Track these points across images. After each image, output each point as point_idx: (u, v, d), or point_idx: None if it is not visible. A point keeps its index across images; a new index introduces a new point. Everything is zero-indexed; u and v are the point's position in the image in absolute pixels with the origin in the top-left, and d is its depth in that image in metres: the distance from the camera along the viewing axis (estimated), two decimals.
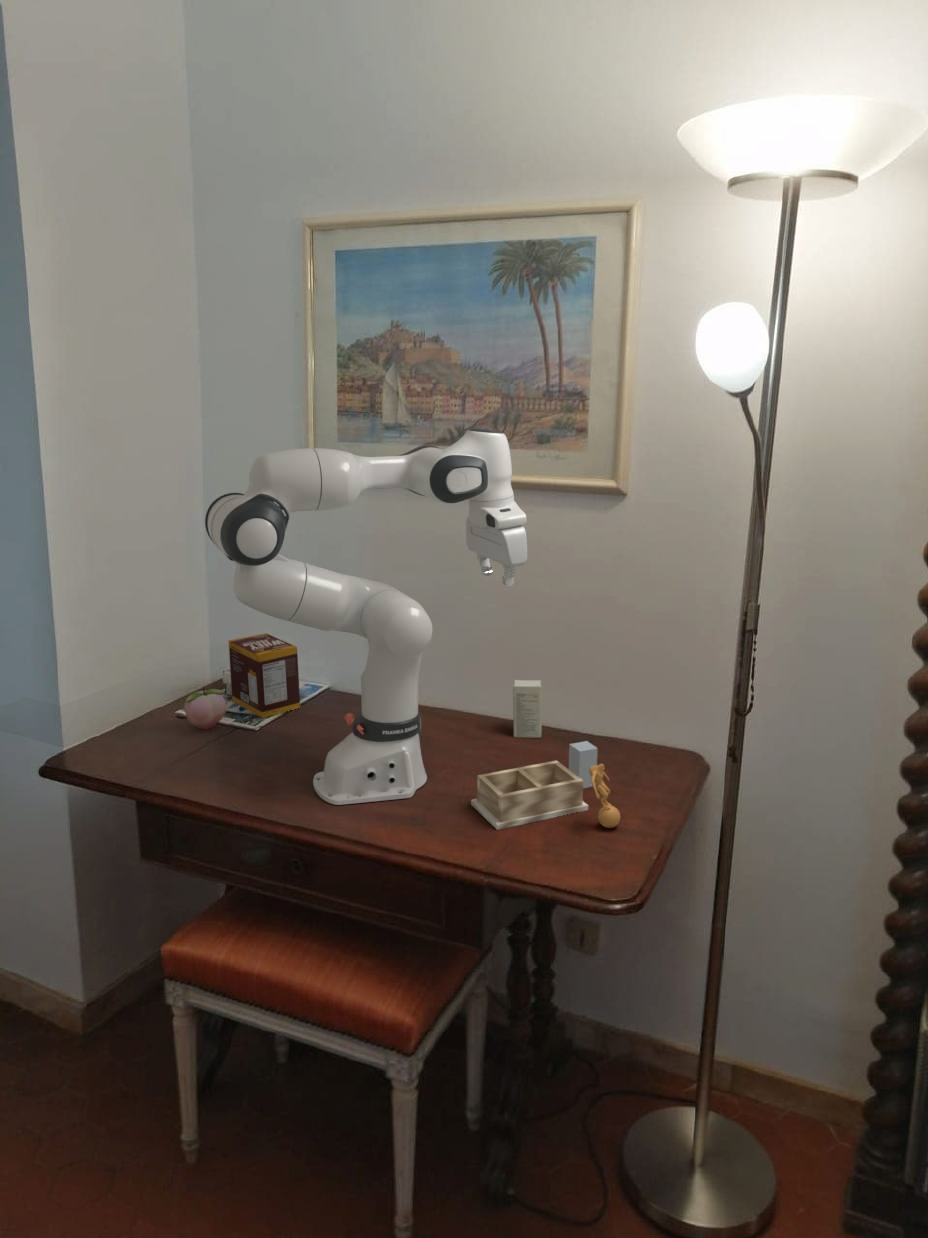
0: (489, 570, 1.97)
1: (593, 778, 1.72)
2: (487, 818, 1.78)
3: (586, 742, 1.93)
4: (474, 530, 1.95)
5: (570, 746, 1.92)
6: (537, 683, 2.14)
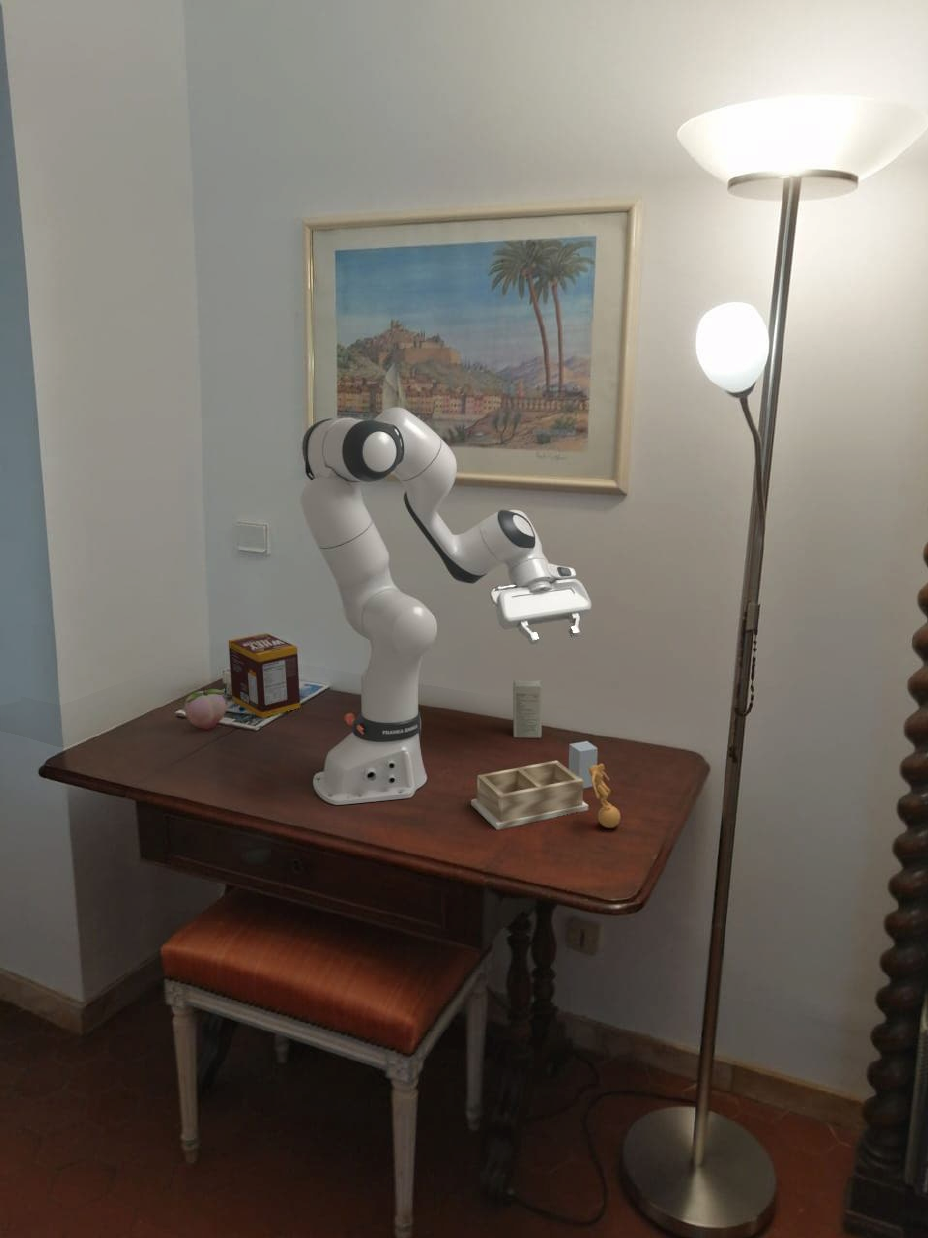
0: None
1: (593, 778, 1.72)
2: (487, 818, 1.78)
3: (586, 742, 1.93)
4: (517, 599, 1.97)
5: (570, 746, 1.92)
6: (537, 683, 2.14)
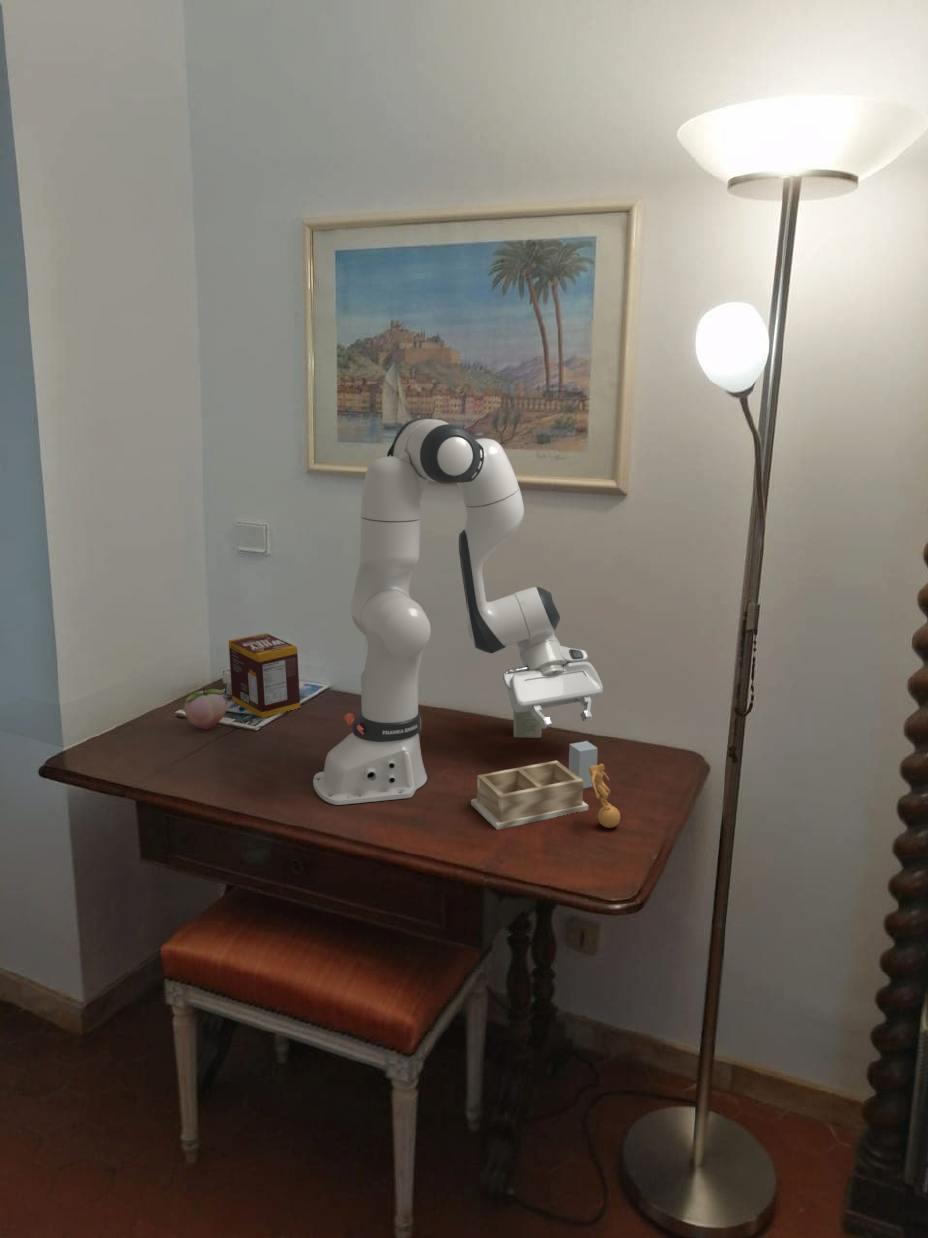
0: None
1: (593, 778, 1.72)
2: (487, 818, 1.78)
3: (586, 742, 1.93)
4: (530, 683, 1.97)
5: (570, 746, 1.92)
6: None
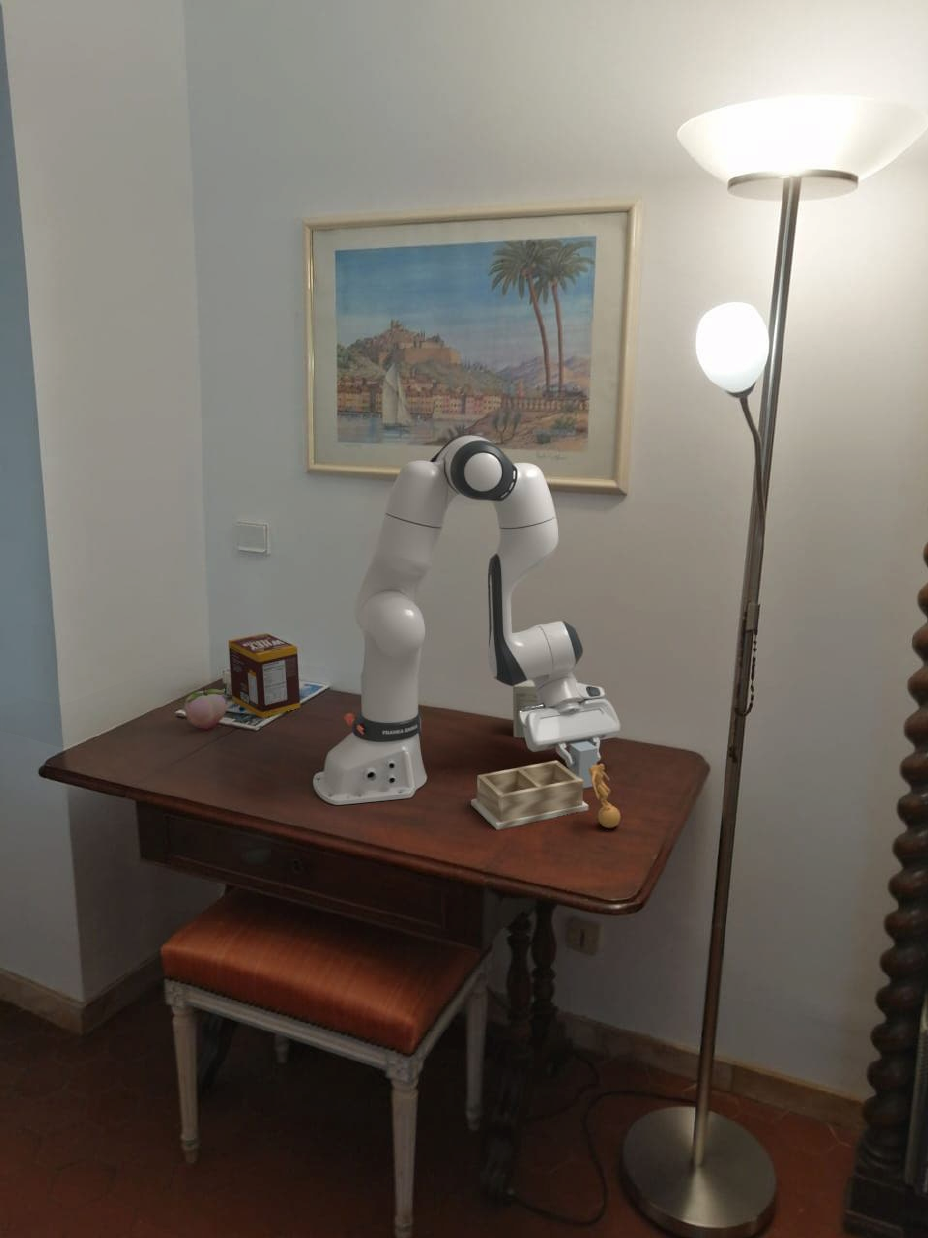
0: None
1: (593, 778, 1.72)
2: (487, 818, 1.78)
3: (586, 742, 1.93)
4: (546, 721, 1.92)
5: (570, 746, 1.92)
6: None
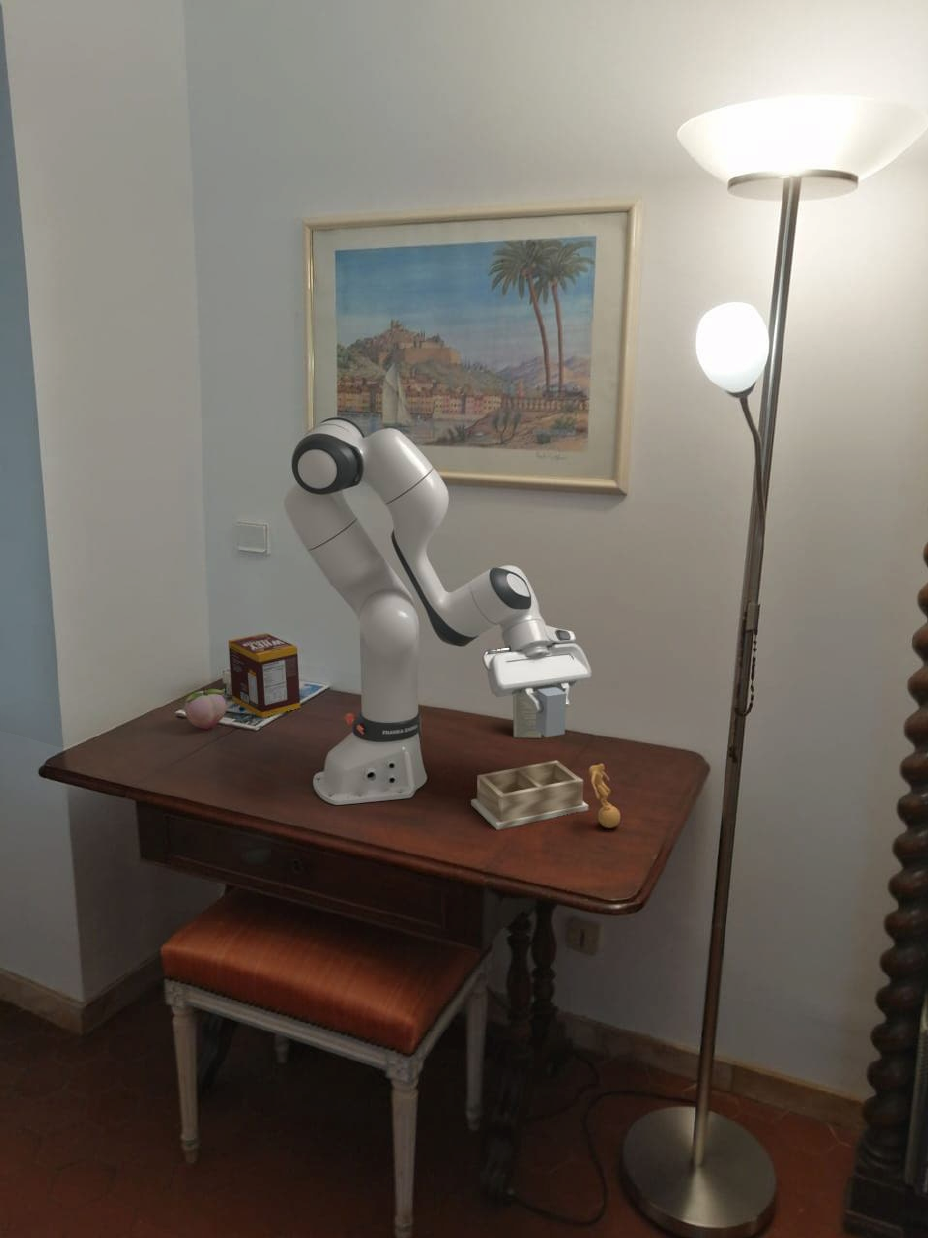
0: None
1: (593, 778, 1.72)
2: (487, 818, 1.78)
3: (555, 688, 1.81)
4: (511, 664, 1.80)
5: (537, 691, 1.80)
6: None
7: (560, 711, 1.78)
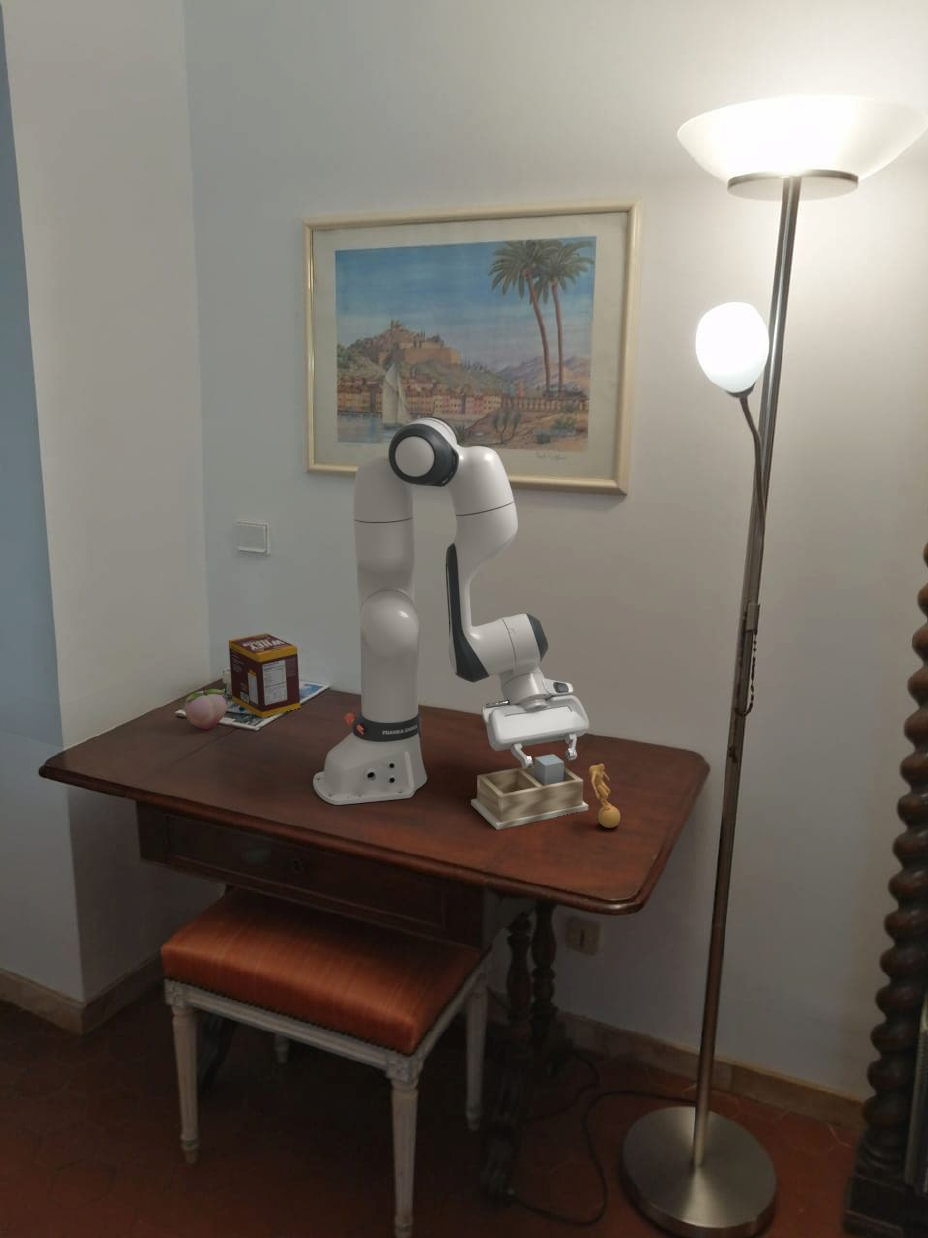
0: None
1: (593, 778, 1.72)
2: (487, 818, 1.78)
3: (552, 755, 1.84)
4: (510, 718, 1.82)
5: (535, 760, 1.83)
6: None
7: (558, 779, 1.82)
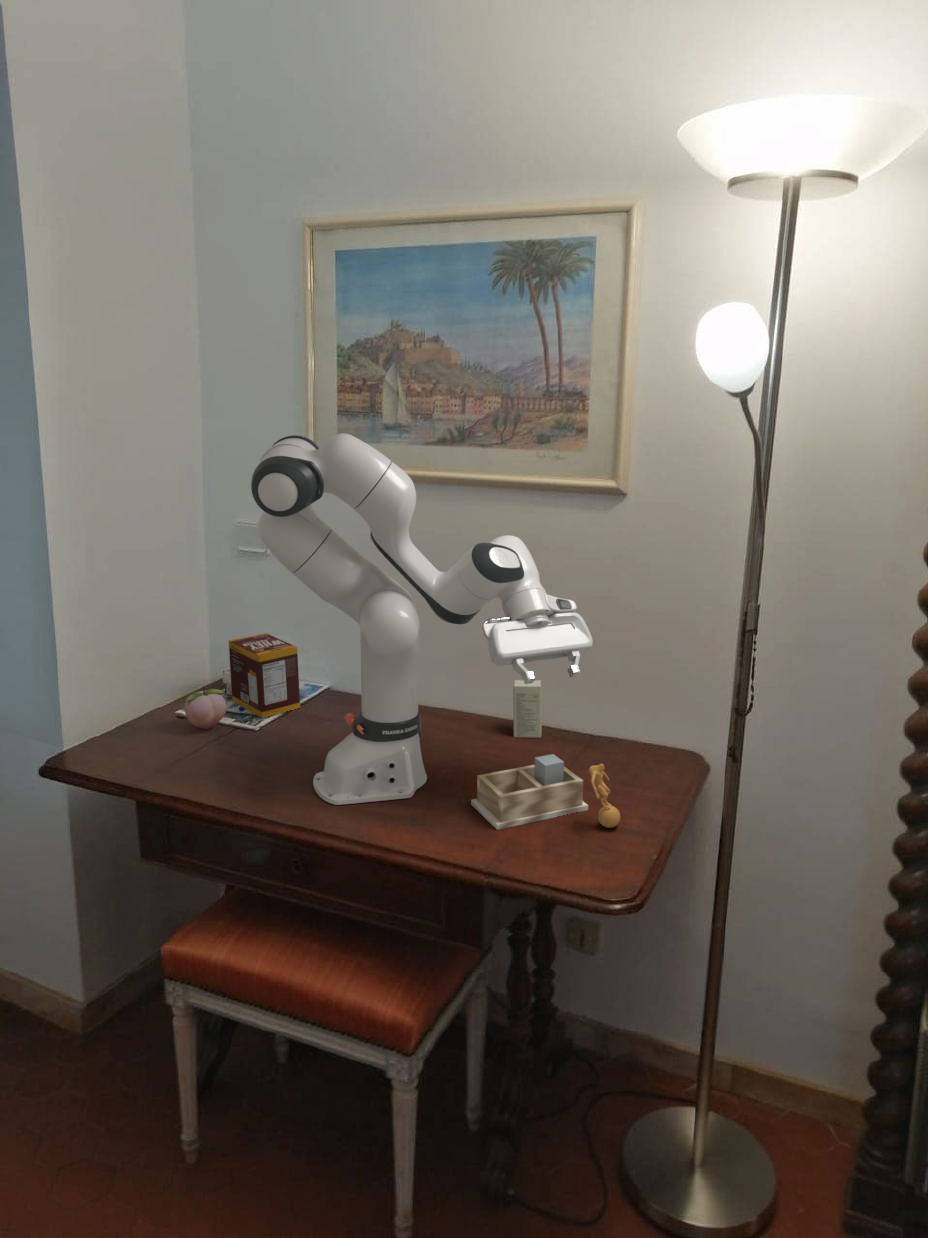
0: None
1: (593, 778, 1.72)
2: (487, 818, 1.78)
3: (552, 755, 1.84)
4: (512, 633, 1.78)
5: (535, 760, 1.83)
6: (537, 683, 2.14)
7: (558, 779, 1.82)
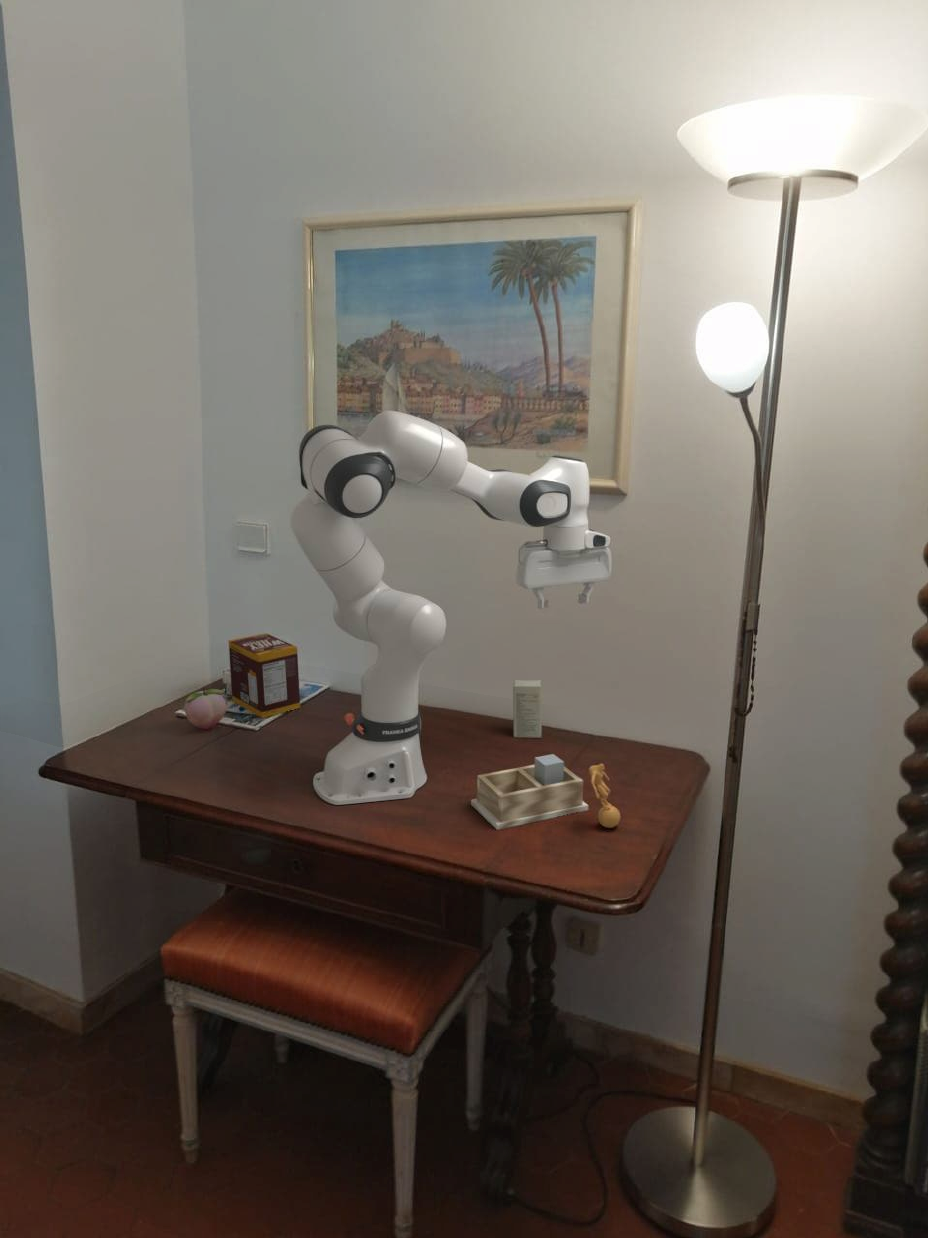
0: None
1: (593, 778, 1.72)
2: (487, 818, 1.78)
3: (552, 755, 1.84)
4: (542, 564, 1.90)
5: (535, 760, 1.83)
6: (537, 683, 2.14)
7: (558, 779, 1.82)
